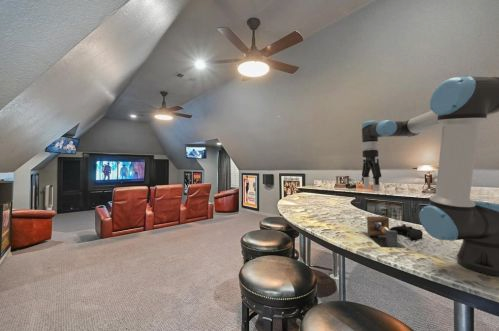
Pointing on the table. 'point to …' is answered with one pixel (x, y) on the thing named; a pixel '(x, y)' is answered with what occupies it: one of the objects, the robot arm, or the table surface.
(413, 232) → the gaming controller
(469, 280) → the table surface
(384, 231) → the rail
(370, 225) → the collar
